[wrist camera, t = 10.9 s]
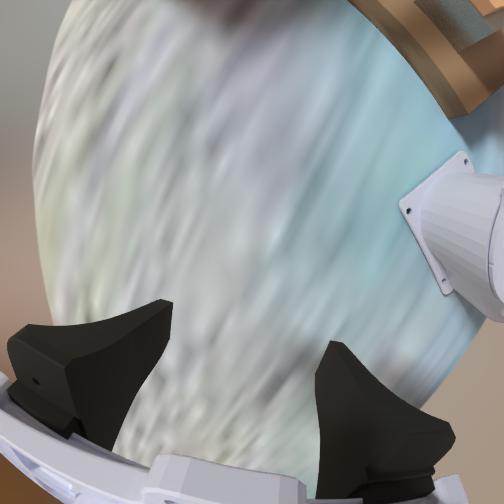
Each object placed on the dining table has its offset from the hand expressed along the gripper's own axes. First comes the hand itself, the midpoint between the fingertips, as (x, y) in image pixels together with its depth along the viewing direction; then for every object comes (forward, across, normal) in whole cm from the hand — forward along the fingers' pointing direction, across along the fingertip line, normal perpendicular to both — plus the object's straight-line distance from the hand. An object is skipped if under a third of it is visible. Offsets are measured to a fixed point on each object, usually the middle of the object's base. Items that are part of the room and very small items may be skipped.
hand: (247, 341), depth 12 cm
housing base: (+6, -11, -25) cm, 28 cm away
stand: (+9, -11, -25) cm, 29 cm away
